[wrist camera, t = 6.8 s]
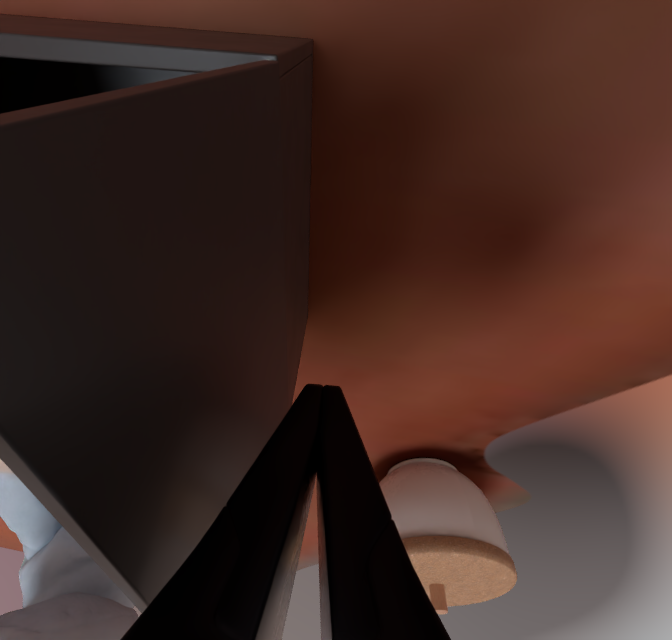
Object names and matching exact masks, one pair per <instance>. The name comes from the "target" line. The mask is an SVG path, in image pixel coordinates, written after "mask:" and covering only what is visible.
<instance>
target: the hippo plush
mask: <svg viewBox="0 0 672 640" xmlns="http://www.w3.org/2000/svg"><path fill="white" fill-rule="evenodd" d="M0 517H2V519H3V520H4V522H5V523H6V524H7V526H8V528H9V529H10V530H11V531H13V532H15V533H16V534H17V536H18V538H19V540H20V542H21V543H22V544H23V551H24V553H25V556H24V561H23V563H22V565H21V568H20V571H19V580H20V586H21V590H22V594H23V609H20V610H16V611H12V612H8V613H6V614H3V615H1V616H0V640H120V639H121V638H122V637H123V635H124V634H125V633H126V632H127V631H128V629H129V628H130V627H131V626H132V625H133V623H134V622H135V621H136V620H137V619H138V614H137V613H136V611H135V610H134V609H133V608H134V606H135V605H134V604H133V603H132V602H131V601H130V600H129V599H128V598H127V596H126V595H125V594H124V593H123V592H122V591H121V590H120V589H119V588H118V587H117V586H116V584H115V583H114V582H113V581H112V580H111V579H110V578H109V577H108V576H107V575H106V573H105V572H104V571H103V570H102V569H101V568H100V567H99V566H98V565H97V564H96V563H95V561H94V560H93V559H92V558H91V557H90V556H89V555H88V554H87V553H86V552H85V551H84V549H83V548H82V547H81V546H80V545H79V544H78V543H77V542H76V541H75V540H74V539H73V537H72V536H71V535H70V534H69V533H68V532H67V531H66V530H65V529H64V528H63V526H62V525H61V524H60V523H59V522H58V521H57V520H56V519H55V518H54V517H53V516H52V514H51V513H50V512H49V511H48V510H47V509H46V508H45V507H44V506H43V505H42V504H41V502H40V501H39V500H38V499H37V498H36V497H35V496H34V495H33V494H32V493H31V492H30V490H29V489H28V488H27V487H26V486H25V485H24V484H23V483H22V482H21V481H20V479H19V478H18V477H17V476H16V475H15V474H14V473H13V472H12V471H11V470H10V469H9V467H8V466H7V465H6V464H5V463H4V462H3V461H2V460H1V459H0Z"/></svg>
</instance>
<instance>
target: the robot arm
mask: <svg viewBox="0 0 672 640" xmlns="http://www.w3.org/2000/svg"><path fill="white" fill-rule="evenodd" d="M316 472H317V517H318V550H319V579H320V580H319V583H320V613H321V640H451V639H450V637H449V635H448V633H447V632H446V629H445V628H444V625H443V624H442V622H441V620H440V618H439V616H438V614H437V612H436V610H435V608H434V607H433V605H432V603H431V601H430V599H429V597H428V595H427V593H426V591H425V589H424V587H423V585H422V583H421V581H420V579H419V577H418V575H417V573H416V571H415V569H414V567H413V565H412V563H411V560H410V558H409V556H408V553H407V551H406V549H405V546H404V544H403V542H402V539H401V537H400V535H399V532H398V530H397V527H396V525H395V522H394V520H392V519H391V518H392V515H391V512H390V510H389V507H388V505H387V502H386V500H385V497H384V495H383V492H382V490H381V487H380V485H379V482H378V480H377V477H376V475H375V472H374V470H373V467H372V465H371V462H370V460H369V457H368V455H367V452H366V450H365V447H364V445H363V442H362V440H361V437H360V435H359V432H358V429H357V427H356V424H355V422H354V419H353V417H352V414H351V412H350V409H349V407H348V404H347V402H346V399H345V397H344V394H343V392H342V389H341V388H340V387H339V386H332V385H325V386H324V387H323V386H322V385H319V384H307V385H306V386H305V387H304V388H303V390H302V391H301V393H300V394H299V396H298V397H297V399H296V400H295V402H294V403H293V405H292V406H291V408H290V409H289V410H288V412H287V413H286V415H285V416H284V418H283V419H282V421H281V422H280V424H279V425H278V427H277V428H276V430H275V431H274V433H273V434H272V436H271V437H270V439H269V440H268V442H267V443H266V445H265V446H264V448H263V449H262V451H261V452H260V454H259V455H258V457H257V458H256V460H255V461H254V463H253V464H252V466H251V467H250V469H249V470H248V472H247V473H246V475H245V476H244V478H243V479H242V481H241V482H240V484H239V485H238V487H237V488H236V490H235V491H234V493H233V494H232V495H231V497H230V498H229V500H228V501H227V503H226V505H227V506H224V507H223V509H222V510H221V512H220V513H219V515H218V516H217V518H216V519H215V521H214V522H213V523H212V525H211V526H210V528H209V529H208V531H207V532H206V533H205V535H204V536H203V538H202V539H201V540H200V542H199V543H198V545H197V546H196V547H195V549H194V550H193V551H192V552H191V554H190V555H189V556H188V558H187V559H186V560H185V561H184V563H183V564H182V565H181V566H180V568H179V569H178V570H177V571H176V573H175V574H174V575H173V576H172V578H171V579H170V580H169V581H168V582H167V584H166V585H165V586H164V587H163V588H162V590H161V591H160V592H159V593H158V594H157V596H156V597H155V598H154V599H153V601H152V602H151V603H150V604H149V605H148V607H147V608H146V609H145V610H144V611H143V613H142V614H141V615H140V616H139V617H138V619H137V620H136V621H135V622H134V623H133V625H132V626H131V627H130V628H129V629H128V631H127V632H126V633H125V634H124V635H123V637H122V638H121V639H120V640H282V635H283V630H284V626H285V621H286V616H287V611H288V607H289V602H290V597H291V593H292V588H293V583H294V578H295V574H296V569H297V564H298V560H299V555H300V550H301V546H302V541H303V536H304V531H305V527H306V522H307V517H308V513H309V508H310V503H311V498H312V494H313V489H314V484H315V479H316Z"/></svg>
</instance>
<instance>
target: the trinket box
mask: <svg viewBox="0 0 672 640" xmlns="http://www.w3.org/2000/svg"><path fill="white" fill-rule="evenodd" d="M379 485H380V487H381V490H382V492H383V495H384V497H385V500H386V502H387V505H388V507H389V510H390V512H391V515H392V518H391V519H392V520H394V522H395V525H396V527H397V530H398V532H399V535H400V537H401V539H402V542H403V544H404V546H405V549H406V551H407V553H408V556H409V558H410V560H411V563H412V565H413V567H414V569H415V571H416V573H417V575H418V577H419V579H420V581H421V583H422V585H423V587H424V589H425V591H426V593H427V595H428V597H429V599H430V601H431V603H432V605H433V607H434V608H435V610H436V612H437V614H446V613H448V609H447V606H459V605H467V604H474V603H479V602H484V601H487V600H490V599H494V598H496V597H499V596H501V595H503V594H505V593H506V592H508V591H509V590H511V589H512V588H513V587H514V585H515V583H516V581H517V573H516V569H515V566H514V562H513V560H512V558H511V557H510V555H509V551H508V547H507V544H506V540H505V537H504V534H503V531H502V528H501V526H500V523H499V521H498V519H497V516H496V514H495V512H494V510H493V508H492V506H491V504H490V503H489V501H488V499H487V498H486V496H485V495H484V494H483V492H482V491H481V490H480V489H479V488H478V487H477V486H476V485H475V483H474V482H473V481H472V480H470V479H469V478H468V477H466V476H465V475H463V474H462V473H460V472H458V470H457V469H456V468H455V467H454V466H453V465H451V464H450V463H448V462H445V461H442V460H438V459H432V458H416V459H410V460H406V461H403V462H400V463H398V464H396V465H395V466H393V467H392V468H391V469H390V470H389V471H388V473H387V476H386V477H384V478H383V479H382V480H381V481H380V482H379Z"/></svg>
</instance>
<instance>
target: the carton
mask: <svg viewBox="0 0 672 640" xmlns="http://www.w3.org/2000/svg"><path fill="white" fill-rule="evenodd" d="M260 60H273V61H278V62H279V74H280V111H281V147H282V184H283V220H284V256H285V293H286V329H287V366H288V402H289V409H290V408H291V406H292V401H293V395H294V390H295V384H296V379H297V373H298V368H299V362H300V357H301V351H302V346H303V340H304V335H305V329H306V324H307V318H308V284H309V231H310V178H311V125H312V72H313V39H308V38H295V37H282V36H270V35H257V34H245V33H232V32H220V31H207V30H195V29H182V28H170V27H157V26H145V25H132V24H119V23H107V22H94V21H82V20H69V19H57V18H44V17H32V16H19V15H7V14H0V114H2V113H7V112H12V111H17V110H22V109H26V108H31V107H36V106H41V105H46V104H51V103H56V102H60V101H65V100H70V99H75V98H80V97H85V96H90V95H95V94H99V93H104V92H109V91H114V90H119V89H124V88H129V87H134V86H138V85H143V84H148V83H153V82H158V81H163V80H168V79H172V78H177V77H182V76H187V75H192V74H197V73H202V72H207V71H211V70H216V69H221V68H226V67H231V66H236V65H241V64H246V63H250V62H255V61H260Z"/></svg>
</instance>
